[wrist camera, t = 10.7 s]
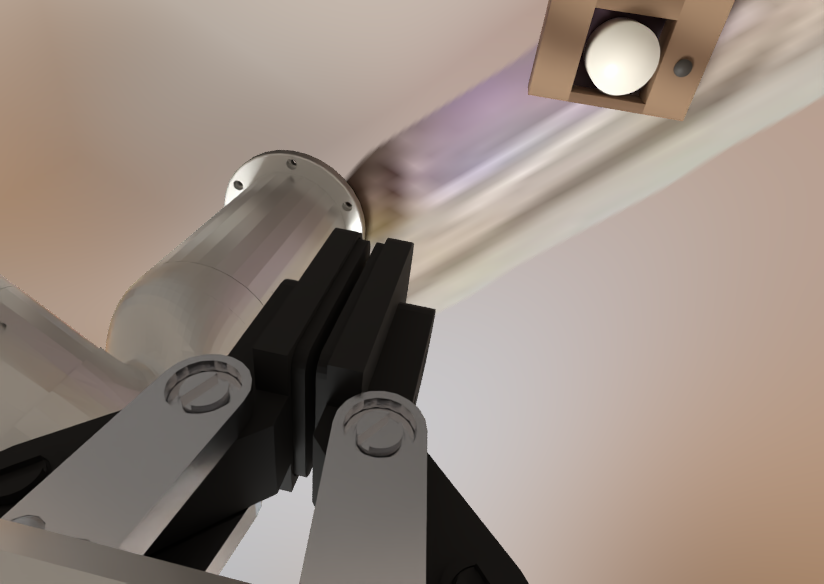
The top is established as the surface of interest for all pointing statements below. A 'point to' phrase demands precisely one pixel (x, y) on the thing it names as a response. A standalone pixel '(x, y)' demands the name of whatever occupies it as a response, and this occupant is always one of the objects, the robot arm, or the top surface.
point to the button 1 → (621, 56)
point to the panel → (678, 64)
